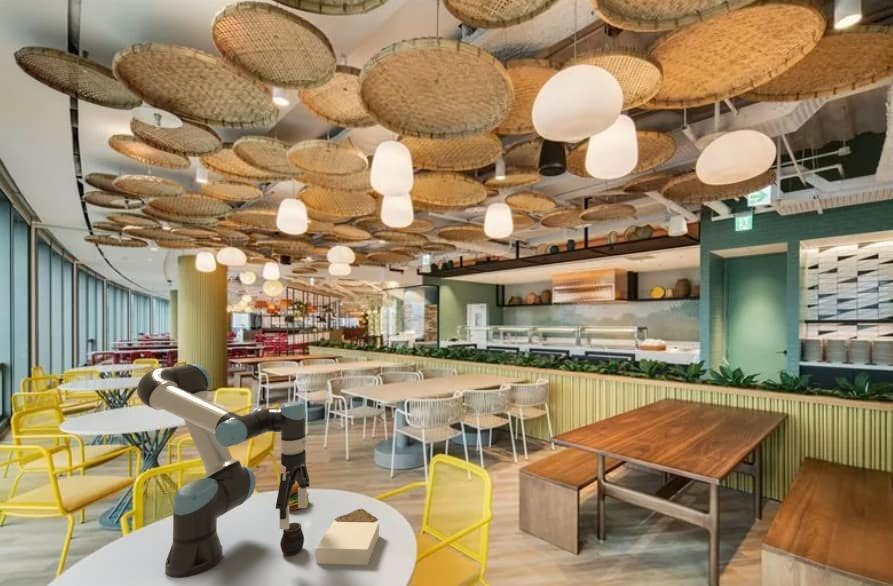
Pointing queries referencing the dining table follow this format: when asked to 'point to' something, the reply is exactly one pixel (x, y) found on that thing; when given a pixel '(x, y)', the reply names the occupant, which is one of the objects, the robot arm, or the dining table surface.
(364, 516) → the cookie
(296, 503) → the cheeseburger
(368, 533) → the cream square slab
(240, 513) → the dining table surface
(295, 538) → the mate gourd
